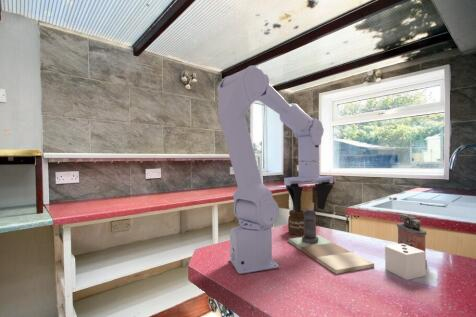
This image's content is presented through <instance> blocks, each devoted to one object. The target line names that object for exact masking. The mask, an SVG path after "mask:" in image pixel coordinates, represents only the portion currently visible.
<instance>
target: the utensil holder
mask: <svg viewBox="0 0 476 317" xmlns="http://www.w3.org/2000/svg"><path fill="white" fill-rule="evenodd" d="M308 197H309V196H308V195H306V197H305V201H304V205H303V209H301V210H300V211H299V212H298V211H295V210H294V206H290V204H288V208H289V212H288V215H289V216H288V219H287V228H288V233H289V234H291V235H295V236H303V235H304V219H305V218H304V211H305V210H306V205H307V202H308ZM288 201H290V203H291V205H293V202H292V201H291V198H289V199H288ZM291 207H292V208H291Z"/></svg>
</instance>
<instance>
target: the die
mask: <svg viewBox="0 0 476 317" xmlns="http://www.w3.org/2000/svg"><path fill="white" fill-rule="evenodd" d="M425 251H426V250H425ZM425 251H423V250H420V249H417V248H414V247H411V246H409V245H406V244H403V243H402V244H398V243H397V244H390V245H385V246H384V257H385V258H384V260H385V263H384V264H385V267H384V268H385V269H384V270H386V271H389V272H390V273H392V274H394V275H397V276H399V277H400V278H402V279H404V280H407V281H408V280H413V279H418V278H421V277H422V278H423V277H426V276H427V275H426V272H427V270H426V269H427V268H426V266H427V265H426V262H425Z"/></svg>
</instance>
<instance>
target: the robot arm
mask: <svg viewBox="0 0 476 317" xmlns="http://www.w3.org/2000/svg"><path fill="white" fill-rule="evenodd" d="M217 93H218V104H217V105H218V106H217V115H218V119H219V121H220V122H219V123H220V125H221V130H222V133H223V137H224V141H225V144H226V148H227V152H228V156H229V159H230V163H231V166H232V170H233V174H234V178H235V181H236V182H235V183H236V185H237V189H236V190H235V191H234V193H233V194H232V198H233V202H234V204H233V214H234V215H235V218H237V220H238V224H239V226H235V227H232V228H231V229H230V232H229V247H230V248H229V251H230V253H229V254H230V257H229V261H230V262H231V264H232V266H233V267H234V269H235V270H236V273H237V274H240V275H241V274H247V273H254V272H261V271H266V270H267V271H268V270H273V269H278V268H279V267H280V265H279V264H278V263H277V262H276V261H275V260H274V259H273V242H272V240H273V238H272V236H273V235H272V233H273V232H272V228H273V227H274V226H275V224H276V223H277V222H278V219H279V214H280V211H279V210H280V209H279V204H278V202H277V201H276V200H275V198H274V196H273V192H272V191H271V190H270V189H269V188H268V187H267V186H266V185H265V184H264V183H263V182H262V178H261V174H260V170H259V167H258V162H257V159H256V155H255V150H254V146H253V143H252V139H251V135H250V131H249V127H248V122H247V118H246V113H247V112H248V110H249V109H250V106H251V105H252V104H253V103H254V102H256V101H259V102H260V103H262V104H264V106H267V107H268V108H269V109H271V110H272V111H274V112H275V113H277V114H278V115H279V120H280V122H282V123H283V124H284V125H285V126H286V127H288V128H289V129H290V130H291V132H292V133H293V135H294V138H295V139H296V140H297V146H298V147H297V151H298V153H297V154H298V155H297V156H298V157H297V158H298V166H297V167H298V176H293V177H284V178H283V180H284V182H283V183H284V184H283V185H284V186H285V189H286V190H287V192H288V194H289V196H290V200H291V202H292V206H293V210H295V211H298V212H299V211H300V210H302V204H301V203H302V192H303V187H302V186H300V185H314V186H315V190H316V200H317V209H320V210H325V208H326V205H327V204H326V203H327V199H328V197H329V194H330V193H331V191H332V189H333V183H334V176H331V175H326V176H325V175H320V145H321V143H322V137H323V135H324V127H323V123H322V122H321V120H319V119H318V118H316V117H315V118H313V117H311V116H310V115H309V114H308V113H306V112H305V111H304V110H303V109H302V108H301V107H300V105H299V104H298V103H294V102H292V103H289V102H288V101H286V100H285V99H284V97H283V96H282V95H281V94H280V93H279V92H278V91H277V90H276V89H275V88H274V87H273V86H272V85H271V84H270V78H269V75H268V74H267V73H265V72H264V71H263V69H262V68H261V67H259V66H257V65H249V66H248V67H246V68H243V69H242V70H240V71H238V72H235V73H232V74H231V75H228V76H227V75H226V76H225V77H224V78H223V79H222V80H221V82H220V83H219V84H218V86H217Z"/></svg>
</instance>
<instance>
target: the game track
mask: <svg viewBox="0 0 476 317" xmlns="http://www.w3.org/2000/svg"><path fill="white" fill-rule="evenodd" d="M316 236H317V237H318V243H314V244H310V243H305V242H303V241H302V236H301V237H291V238H288V239H287V241H288V243H290V244H291V245H292V246H294V247H295V248H297V249H299V250H300V251H301V252H303V253H304V254H306V255H308V257H310V258H312V259H313V260H315V261H317V262H318V263H319V264H321V265H322V266H324V267H325V268H326V269H328V270H330V271H331V272H332V273H334V274H335V275H337V274H342V273H343V274H344V273H348V272H354V271H359V270H360V271H361V270H364V269H365V270H366V269H371V268H375V263H374V262H372V261H370V260H368V259H366V258H364V257H362V256H360V255H358V254H356V253H354V252H352V251H351V250H348V249H347V248H344V247H342V246H340V245H338V244H336V243H335V242H333V241H331V240H328V239H326V238H325V237H322V236H320V235H319V234H316Z"/></svg>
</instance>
